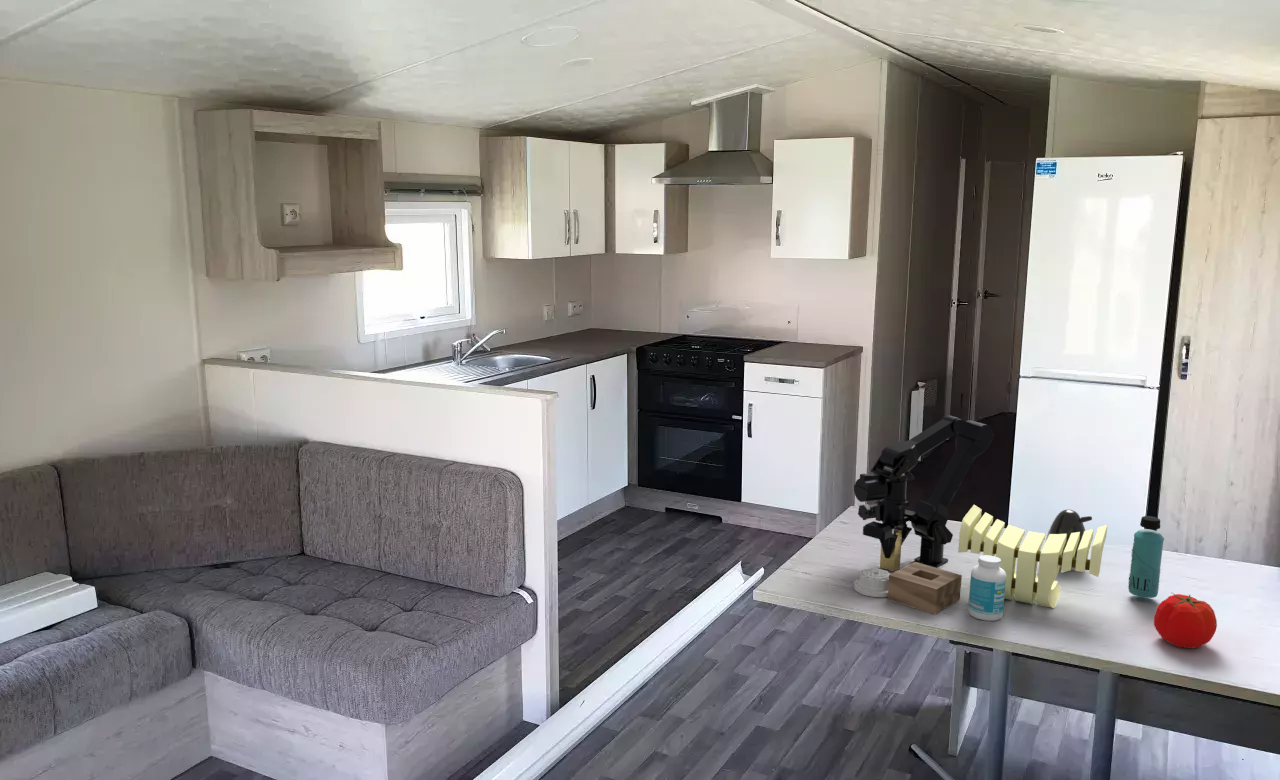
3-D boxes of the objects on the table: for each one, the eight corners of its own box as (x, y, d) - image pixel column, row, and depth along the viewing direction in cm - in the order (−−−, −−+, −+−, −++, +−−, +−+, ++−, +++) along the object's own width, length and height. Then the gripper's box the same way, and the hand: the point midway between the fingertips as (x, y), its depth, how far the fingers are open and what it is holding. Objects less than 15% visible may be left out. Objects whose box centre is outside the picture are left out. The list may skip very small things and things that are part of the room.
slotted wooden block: (913, 585, 234) (915, 561, 233) (960, 599, 226) (961, 575, 225) (887, 599, 226) (889, 574, 225) (935, 614, 218) (936, 589, 217)
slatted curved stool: (955, 593, 229) (960, 522, 226) (969, 572, 243) (974, 504, 240) (1093, 620, 215) (1101, 544, 212) (1100, 596, 228) (1107, 524, 225)
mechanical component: (853, 596, 228) (897, 600, 226) (854, 578, 227) (898, 582, 225) (853, 581, 238) (895, 584, 236) (854, 563, 237) (896, 567, 235)
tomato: (1146, 628, 211) (1151, 583, 209) (1205, 635, 208) (1211, 589, 206) (1158, 651, 200) (1163, 604, 198) (1220, 659, 197) (1226, 611, 195)
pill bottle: (998, 625, 212) (1003, 566, 210) (964, 617, 216) (968, 560, 214) (1006, 613, 219) (1010, 556, 216) (972, 606, 222) (976, 550, 220)
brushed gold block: (885, 564, 248) (888, 526, 246) (899, 568, 245) (902, 530, 243) (879, 567, 246) (881, 529, 244) (893, 571, 243) (896, 533, 241)
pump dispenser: (1084, 577, 240) (1089, 518, 237) (1039, 569, 246) (1044, 511, 243) (1089, 564, 249) (1095, 508, 246) (1046, 557, 254) (1051, 501, 251)
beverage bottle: (1155, 595, 229) (1164, 514, 225) (1160, 606, 223) (1169, 523, 219) (1124, 591, 231) (1133, 511, 227) (1128, 602, 225) (1137, 520, 221)
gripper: (884, 483, 254) (881, 539, 257) (845, 498, 241) (842, 557, 244) (923, 492, 246) (919, 550, 249) (885, 507, 233) (881, 569, 236)
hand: (890, 556), depth 245 cm, fingers closed on brushed gold block, 3 cm apart
